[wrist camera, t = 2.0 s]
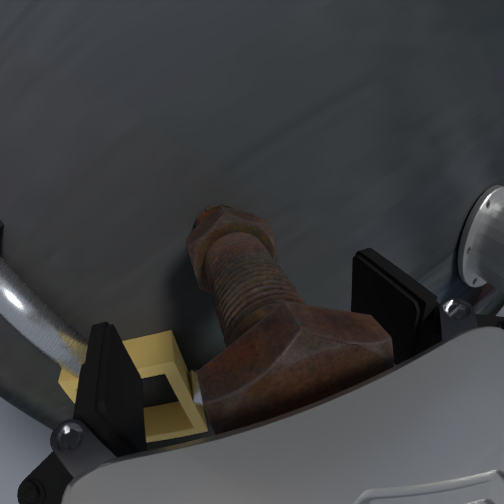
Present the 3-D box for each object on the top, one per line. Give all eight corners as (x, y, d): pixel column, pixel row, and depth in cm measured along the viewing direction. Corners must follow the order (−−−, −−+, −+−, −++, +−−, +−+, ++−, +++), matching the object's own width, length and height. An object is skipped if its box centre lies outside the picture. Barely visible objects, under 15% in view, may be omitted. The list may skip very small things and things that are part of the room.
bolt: (212, 277, 22) (279, 477, 9) (160, 229, 20) (164, 441, 6) (274, 221, 21) (420, 378, 8) (226, 167, 19) (364, 292, 6)
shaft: (110, 332, 22) (102, 378, 17) (74, 361, 22) (64, 405, 17) (-13, 204, 15) (-50, 229, 11) (-40, 247, 15) (-73, 278, 11)
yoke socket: (171, 329, 23) (174, 361, 20) (202, 402, 27) (208, 431, 24) (66, 352, 21) (58, 382, 18) (113, 418, 26) (112, 446, 22)
